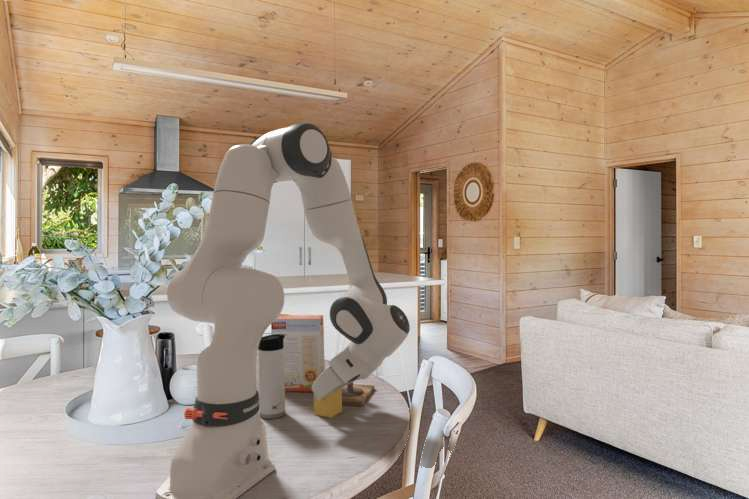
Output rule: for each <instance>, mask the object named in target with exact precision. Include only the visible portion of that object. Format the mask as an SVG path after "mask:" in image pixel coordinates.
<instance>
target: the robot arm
mask: <svg viewBox="0 0 749 499" xmlns="http://www.w3.org/2000/svg"><path fill="white" fill-rule="evenodd" d="M332 155H333V154H332V150H331V147H330V144H329V140H328V139H327V136H326V135H325V133H324V132H323V131H322V129H320V128H319V127H318V126H317V125H315V124H313V123H305V122H301V123H300V122H299V123H294V124H293V123H292V124H291V125H288V126H285V127H282V128H281V127H280V128H276V129H273V130H271V131H269V132H267V133H265V134H263V135H260V136H257V137H256V138H254V139H253V140H252V141H251V142H250V143H249V144H248V143H247V144H246V143H245V144H243V143H242V144H236V145H233V146H232V147H230V148H229V149H228V150H227V151H226V152H225V154H224V157H223V159H222V162H221V164H220V167H219V168H218V169H219V170H218V173H217V176H216V180H215V184H214V187H213V193H212V196H211V204H210V209H209V211H208V218H207V221H206V222H207V223H206V227H205V230H204V232H203V235H202V238H201V240H200V241H199V244H198V245H197V248H196V249H195V251H194V253H193V255H192V257H191V258H190V260H189V262H188V263H187V264H186V265H185V266H184V267H183V268H182V269H180V270H179V271H178V272H177V273H175V274H174V276H172V278H171V280H170V281H169V284H168V287H167V292H166V296H167V302H168V304H169V306H170V308H171V309H172V311H173V312H175V313H176V314H178V315H179V316H182V317H184V318H187V319H189V320H191V321H193V322H199V323H205V324H206V323H208V324H213V325H214V331H213V336H212V340H211V342H210V344H209V346H206V347H205V348H204V349H203V350H202V351H201V352H199V355H198V356H197V358H196V387H197V389H196V390H197V396H196V397H195V401H194V404H193V408H192V407H186V408H185V410H184V412H183V416H184V417H183V418H184V419H185V420H192V422H191V424H190V427H189V428H188V429H187V431H186V433H185V434H184V437H183V438H182V440H181V442H180V444H179V445H178V447H177V449H176V450H175V452H174V454H173V456H172V458H171V462H170V470H169V474H170V475H169V476H168V477H167V478H166V479H165V481H164V482H163V483H162V484H161V485H160V486H159V488H157V490H156V491H155V498H156V499H238V498H239V497H240V496H242V495H243V494H244V493H245V492H247V491H248V490H250V489H251V488H252V487H254V486H255V485H256V484H257V483H259V482H260V481H261V480H263V479H264V478H266V477H267V476H268V475H269V474H271V473H272V472H274V471H275V469H276V466H275V462H274V461H273V460H272V459H270V458H269V448H268V438H267V430H266V429H267V428H266V425H265V424H264V422H263V420H262V419H261V417H260V415H259V410H260V409H259V403H260V399H259V390H257V361H258V347H259V343H260V340H261V338H262V337H264V333H265V331H266V330H267V329H268V328H269V327H270V325H271V324H272V323H273V322H274V321H275V320H276V319H277V318H278V316H279V315H281V313H282V311H283V309H284V305H285V291H284V288H283V285H282V283H281V281H280V280H279V278H278V277H276V276H275V275H273V274H271V273H267V272H265V271H261V270H258V269H255V268H246V267H243V268H242V265H243V263H244V261H245V259H246V258H247V257H248V256H249V254H250V253H251V252H252V251H254V250H255V249H257V248H258V247H260V245H261V244H262V242H263V241H264V239H265V233H266V227H267V223H268V222H267V220H268V216H269V211H270V210H269V209H270V204H271V197H272V196H271V195H272V189H273V186H274V184H275V183H279V182H285V181H286V182H288V181H289V182H290V181H293V182H294V183H295V184H296V186H297V187H298V189H299V191H300V194H301V202H302V206H303V210H304V211H303V212H304V215H305V218H306V219H305V220H306V223H307V225H308V227H309V230H310V231H311V234H312V235H313V236H314V237H315V238H316V239H317V240H318V241H321V242H323V243H325V244H329V245H331V246H333V247H335V248H336V249H337V250H338V251H339V253H340V255H341V259H342V261H343V264H344V267H345V270H346V274H347V277H348V280H349V287H348V290H347V292H345V293H343V294H342V295H340V296H339V297H338V298H337V299H335V301H333V302H332V304H331V306H330V308H329V319H330V322H331V325H332V327H334V329H335V330H336V331H337V332H339V333H340V334H341V335H342V336H343V337H344V338H346V339H347V340H349V341H350V342H349V343H348V344H347V345H346V346H345V347H344V348H343V349H342V350H341V351H340V352H339V353H337V354H336V355H335V356H333V357H332V358H331V359H330V360H329V361H328V364H329V365H328V366H326V368H325V370H324V371H323V372H322V373H321V375H320V376H319V377H318V378H317V379H316V381H315V382H314V383H313V385H312V388H311V389H312V391H313V392H312V393H313V395H314V394H315V397H316V398H317V400H318V401H321V400H322V399H324V398H325V397H326V396H328V395H330V394H331V393H333V392H335V391H337V390H339V389H341V388H342V387H344V386H346V385H348V384H350V383H352V382H353V383H354V382H355V381H359V380H366V379H368V378H369V377H370V376H371V375H372V374H373V373H374V372H375V371H376V370H377V369H379V367H381V366H382V364H383V362H384V361H385V359H386V358H388V357H391V355H392V354H394V353H395V351H396V350H397V349H398V348H399V347H400V346H402V344H403V343H404V341H405V340H406V338H407V337H408V335H409V332H410V329H411V328H410V327H411V326H410V321H409V319H408V317H407V315H406V313H405V312H404V311H403V310H402V309H401V308H400V307H399V306H397V305H394V304H388V297H387V294H386V291H385V290H384V288H383V287H382V285H381V284H380V283H379V281H378V279H377V278H376V276H375V273H374V270H373V266H372V263H371V260H370V256H369V252H368V250H367V247H366V246H367V245H366V244H365V240H364V238H363V235H362V233H361V230H360V227H359V224H358V220H357V216H356V214H355V213H356V212H355V209H354V208H355V207H354V204H353V200H352V195H351V192H350V188H349V185H348V183H347V182H348V181H347V180H346V176H345V174H344V171H343V169H342V166H341V164H340V163H339V161H338V160H337V159H336V158H335V157H333V156H332Z"/></svg>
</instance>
